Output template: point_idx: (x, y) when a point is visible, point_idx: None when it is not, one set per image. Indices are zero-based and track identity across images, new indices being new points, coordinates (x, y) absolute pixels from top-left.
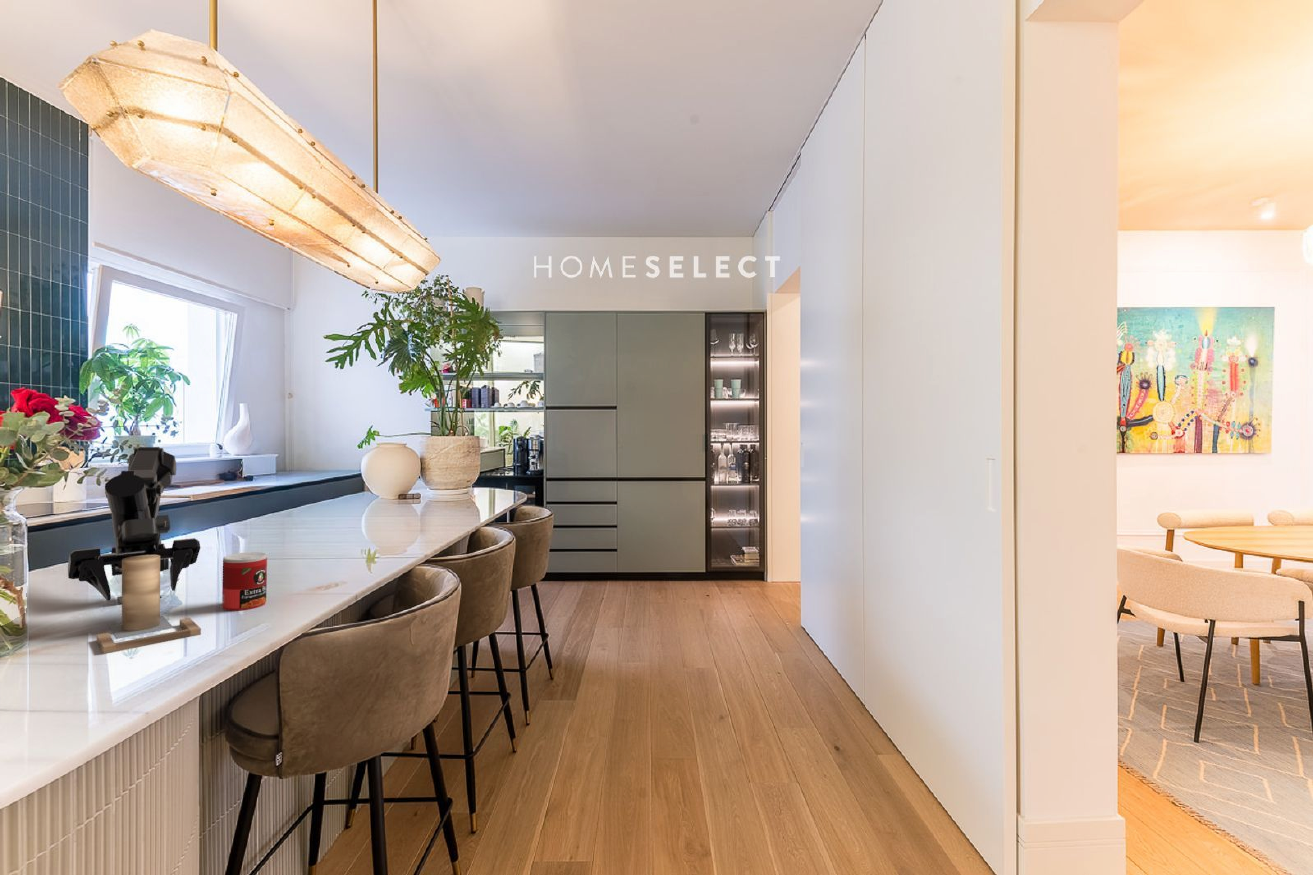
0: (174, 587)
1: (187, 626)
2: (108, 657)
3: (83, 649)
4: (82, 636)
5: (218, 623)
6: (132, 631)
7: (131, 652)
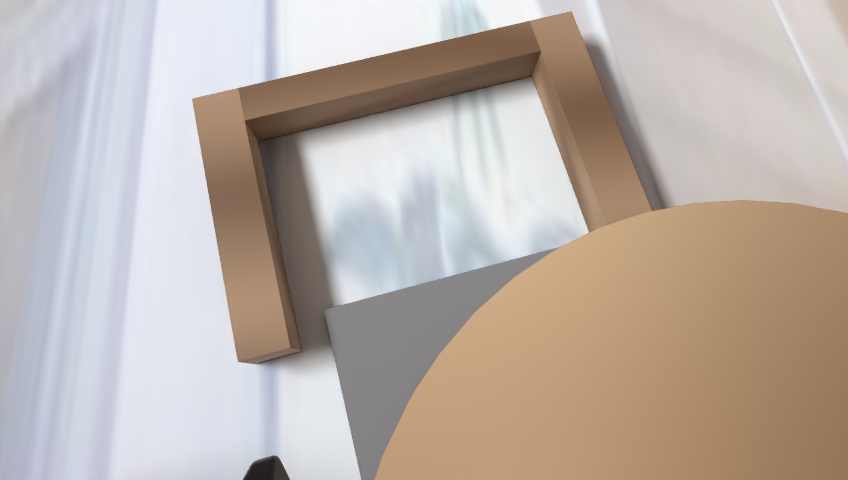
0: (263, 461)
1: (250, 165)
2: None
3: (671, 183)
4: None
5: (113, 326)
6: None
7: None
